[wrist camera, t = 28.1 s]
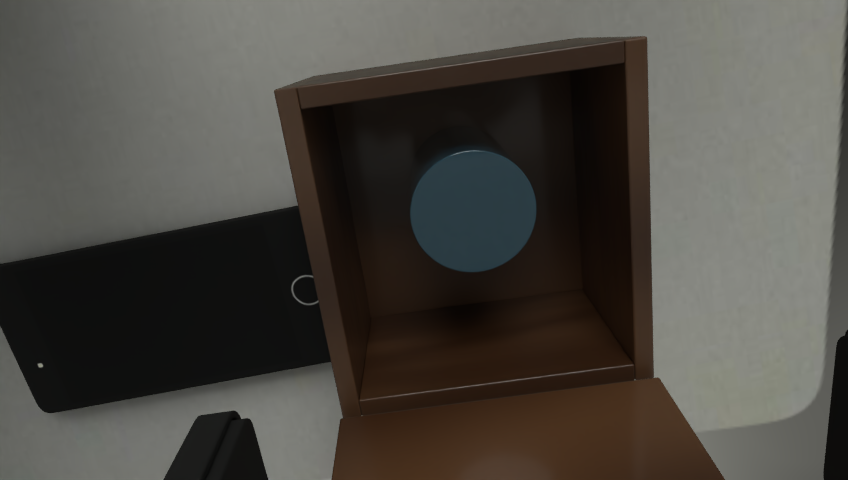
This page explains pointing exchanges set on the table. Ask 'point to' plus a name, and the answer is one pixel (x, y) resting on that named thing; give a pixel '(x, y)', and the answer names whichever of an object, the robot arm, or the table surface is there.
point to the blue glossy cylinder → (469, 201)
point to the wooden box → (502, 286)
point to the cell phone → (164, 311)
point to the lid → (530, 439)
